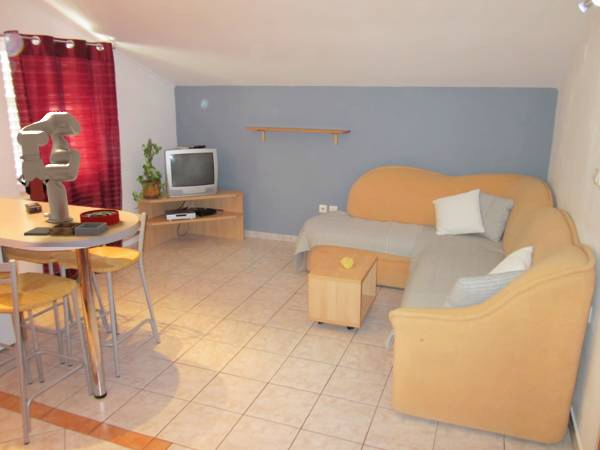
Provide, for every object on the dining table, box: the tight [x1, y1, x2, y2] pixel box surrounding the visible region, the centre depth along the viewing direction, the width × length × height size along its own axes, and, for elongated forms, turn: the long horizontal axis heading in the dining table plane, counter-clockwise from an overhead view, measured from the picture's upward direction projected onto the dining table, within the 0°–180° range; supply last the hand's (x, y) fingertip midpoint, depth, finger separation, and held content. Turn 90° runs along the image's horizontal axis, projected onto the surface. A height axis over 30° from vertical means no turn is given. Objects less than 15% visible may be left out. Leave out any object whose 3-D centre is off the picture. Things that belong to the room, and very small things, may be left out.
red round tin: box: [79, 208, 121, 227], centre depth 280 cm, size 20×6×20 cm
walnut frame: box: [49, 222, 82, 236], centre depth 262 cm, size 12×12×4 cm
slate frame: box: [74, 223, 108, 236], centre depth 262 cm, size 12×12×4 cm
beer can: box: [28, 176, 45, 201], centre depth 257 cm, size 7×7×12 cm
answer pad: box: [23, 226, 52, 236], centre depth 263 cm, size 12×12×1 cm
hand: (36, 193), depth 258 cm, fingers closed on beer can, 6 cm apart
